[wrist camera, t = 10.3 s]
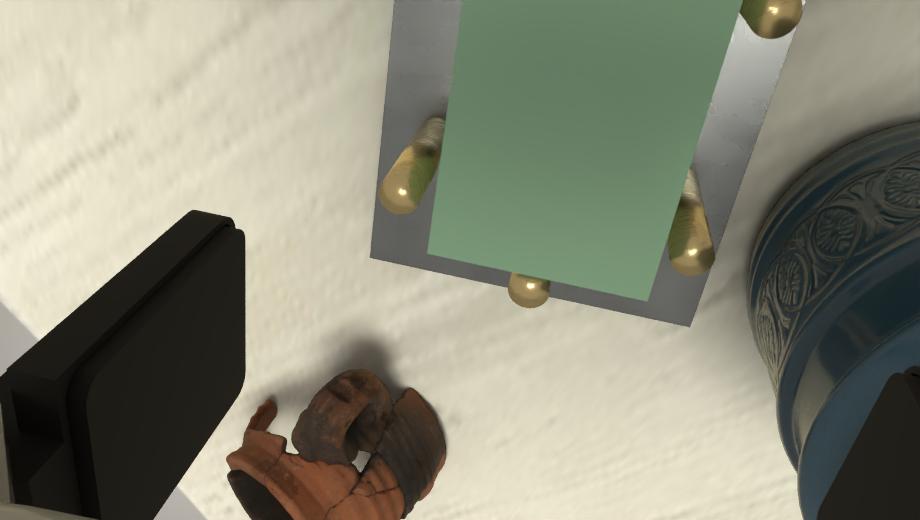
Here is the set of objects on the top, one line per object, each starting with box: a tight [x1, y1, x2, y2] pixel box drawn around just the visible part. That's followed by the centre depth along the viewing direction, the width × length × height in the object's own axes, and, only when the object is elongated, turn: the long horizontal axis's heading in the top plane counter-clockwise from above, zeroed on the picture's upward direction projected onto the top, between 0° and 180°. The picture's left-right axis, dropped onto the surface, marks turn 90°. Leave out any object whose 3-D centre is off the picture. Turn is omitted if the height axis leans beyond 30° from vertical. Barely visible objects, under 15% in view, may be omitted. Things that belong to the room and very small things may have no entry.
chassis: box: [370, 0, 806, 327], centre depth 26 cm, size 14×20×7 cm
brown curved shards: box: [226, 369, 446, 520], centre depth 37 cm, size 12×10×8 cm
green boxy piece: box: [427, 0, 743, 301], centre depth 24 cm, size 7×10×5 cm
